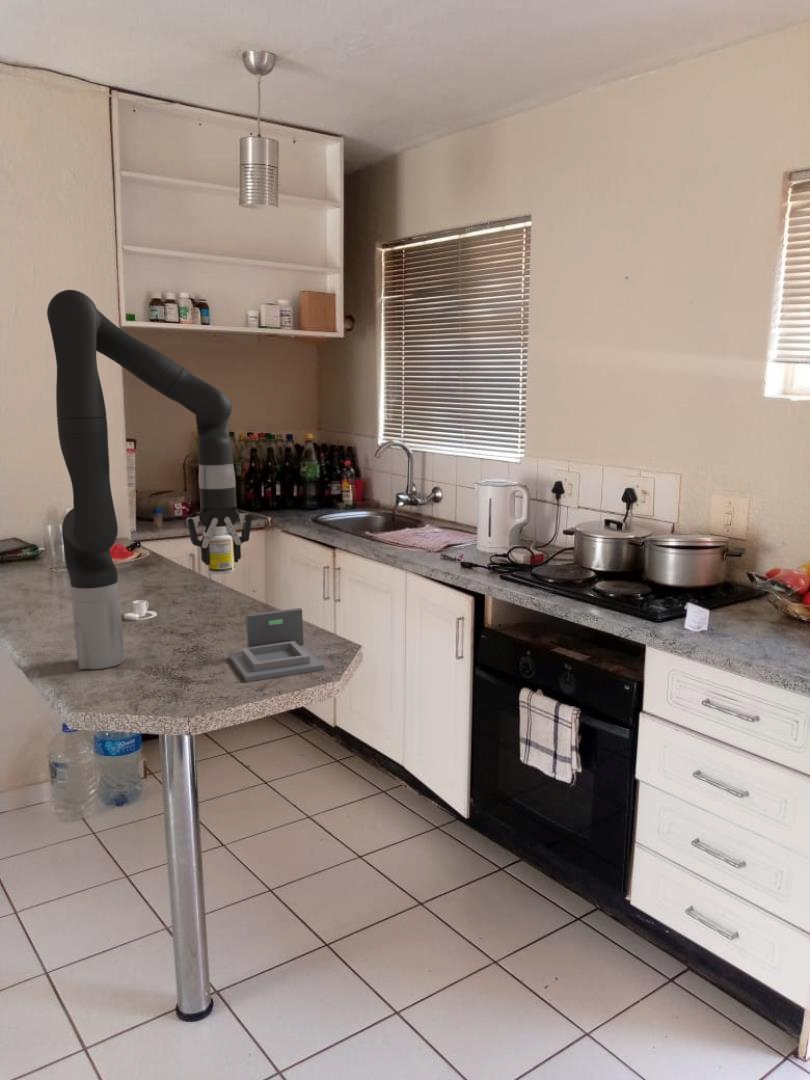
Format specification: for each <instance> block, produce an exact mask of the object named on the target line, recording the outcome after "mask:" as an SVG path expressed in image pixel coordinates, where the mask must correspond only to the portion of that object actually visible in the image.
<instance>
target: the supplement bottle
mask: <svg viewBox="0 0 810 1080" xmlns="http://www.w3.org/2000/svg"><path fill="white" fill-rule="evenodd" d="M207 547H208V548H209V565H208V571H209V573H210V574H213V575H226V574H231V573H233V572H235V569H236V568H235V567H236V566H235V564H236V562H234V544H233V537H232V535H231V534H230V533H229V530H228V528H227V526H218V527H215V529H214V532H213V535H212V537H211V538H210V539H209V544H208V546H207Z"/></svg>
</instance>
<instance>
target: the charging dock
mask: <svg viewBox="0 0 810 1080" xmlns="http://www.w3.org/2000/svg"><path fill="white" fill-rule="evenodd" d="M303 620H304V619H303V609H302V608H301V607H298V608H289V609H281V610H273V611H267V612H259V613H249V614H245V629H246V647H242V648H241V651H237V652H230V653H228V659H229V660H230V661H231V663H232V664H233V665H234V667H235V668H236V670H237V671H238V673H239V674H240V676H241V677H242V678H243V679H244V681H245V682H246V683H249V682H254V681H261V680H267V679H274V678H275V679H276V678H280V677H287V676H293V675H298V674H300V675H301V674H305V673H312V672H318V671H325V664H324V663H323V662H322V661H321V660H320V659H319V658H318V657H317V656H315V654H314V653H312V651H310V650H309V649H308V648H307V646H305V644H304V627H303V624H304V623H303Z"/></svg>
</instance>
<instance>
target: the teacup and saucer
mask: <svg viewBox="0 0 810 1080" xmlns="http://www.w3.org/2000/svg"><path fill="white" fill-rule="evenodd" d="M132 607H133V611H132V612H129V613H128V612H127V613H124V614H123V618H124V620H130V621H141V620H142V621H143V620H149V619H151V618H154V617H156V616H157V615H158V613H157V612H156V611H153V610H152V611H150V610H148V608H149V601H147V600H144V599H139V600H137V599H136V600H134V601H133V602H132ZM134 613H135V614H134ZM146 614H151V615H150V616H148V617H145V616H146ZM142 617H144V618H142Z"/></svg>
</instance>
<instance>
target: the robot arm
mask: <svg viewBox="0 0 810 1080" xmlns="http://www.w3.org/2000/svg"><path fill="white" fill-rule="evenodd" d="M46 310H47V311H46V316H47V320H48V324H49V328H50V334H51V339H52V343H53V344H52V345H53V348H54V355H55V361H56V382H55V383H56V388H55V392H56V393H55V394H56V396H55V400H56V403H55V404H56V420H57V422H56V424H57V432H58V440H59V446H60V450H61V453H62V458H63V460H64V463H65V466H66V468H67V471H68V475H69V477H70V481H71V486H72V496H73V501H72V503H73V505H72V506H73V507H72V508H71V509H70V510H69V511H68V512H67V514H66V515H65V516H64V518H63V521H62V525H61V526H62V527H61V528H62V529H61V530H62V531H61V532H62V533H61V534H62V542H63V552H64V559H65V566H66V570H67V573H68V576H69V581H70V591H71V592H70V593H71V600H72V610H73V611H72V612H73V626H74V627H73V628H74V637H75V646H76V647H75V649H76V657H77V659H76V660H77V665H78V670H101V669H107V668H108V669H109V668H113V667H116V666H119V665H120V664H122V663H124V662H125V659H126V657H125V646H124V635H123V626H122V613H121V599H120V588H119V578H118V570H117V568H116V565H115V563H114V560H113V557H112V553H111V552H112V551H111V548H112V547H113V545H114V544H115V543H116V540H117V538H118V533H119V532H118V531H119V530H118V529H119V527H118V521H117V516H116V510H115V506H114V499H113V494H112V487H111V478H110V477H111V476H110V474H111V473H110V471H111V470H110V454H109V453H110V451H109V432H108V431H109V429H108V417H107V409H106V403H105V397H104V391H103V387H102V384H101V379H100V375H99V371H98V363H97V362H98V361H97V353H100V354H102V355H103V356H105V357H107V358H109V359H110V360H111V361H113V362H115V363H116V364H117V365H119V366H121V367H122V368H124V369H125V370H126V371H128V373H131V374H132V375H133V376H134V377H136V378H137V379H138V380H140V381H142V382H143V383H145V384H146V385H147V386H149V387H150V388H151V389H153V390H155V391H157V392H158V393H159V394H161V395H163V396H165V397H166V398H168V399H170V400H171V401H174V402H176V403H178V404H180V405H181V406H182V407H184V408H185V409H187V410H189V411H190V412H191V413H193V414H194V415H195V423H196V430H197V436H198V463H199V465H198V467H199V468H198V486H199V489H198V491H199V503H200V504H199V505H200V510H199V511H200V512H199V514H198V515H197V516H194V517H193V516H191V517H190V516H188V517H186V519H185V523H186V525H187V530H188V534H189V538H190V541H191V543H192V545H194V547H199V548H200V560H201V562H203V563H204V565H205V566H209V548H208V547H207V546H208V544H209V539H210V538H211V537H212V535H213V532H214V529H215V527H218V526H227V528H228V530H229V533H230V534H231V535H232V537H233V544H234V563H239V560H241V558H242V552H241V550H242V549H241V545H242V544H243V543H246V542H249V540H250V535H251V528H252V527H251V526H252V519H253V517H252V515H251V514H250V513H248V512H246V513H244V512H243V513H241V512H239V511H238V508H237V494H236V493H237V490H236V489H237V488H236V487H237V486H236V474H235V468H234V457H233V456H234V455H233V454H234V453H233V444H232V439H231V437H230V425H229V423H230V421H229V419H230V417H231V414H232V410H233V407H232V401H231V400H230V398H229V396H228V395H227V394H226V393H224V392H223V391H221V390H220V389H218V388H217V387H215V386H213V385H212V384H210V383H209V382H206V381H204V380H202V379H201V378H200V377H197V375H194V374H193V373H191V371H189V370H188V369H187V368H185V367H184V366H182V365H181V364H179V363H178V362H176V361H175V360H174V359H172V358H171V357H169V356H167V355H165V354H164V353H162V352H160V351H159V350H157V349H155V348H153V347H151V346H150V345H148V344H146V343H144V342H142V341H141V340H139V339H137V338H136V337H134V336H132V335H130V334H129V333H127V332H126V331H124V330H123V329H122V328H120V327H119V326H117V325H116V324H115V323H114V322H112V321H111V320H110V319H109V318H107V317H106V316H105V315H104V314H103V313H102V312H101V311H100V310H99V309H98V308H97V306H96V304H95V302H94V301H93V300H92V299H91V297H89V296H88V295H86V294H85V293H84V292H81V291H78V290H77V289H76V290H75V289H65V290H61V291H59V292H58V293H56V294H55V295H54V296H53V297H52V298H51V299H50V301H49V303H48V305H47V309H46ZM238 520H240V523H241V524H242V526H241V527H242V528H241V535H240V536H239V535H238V533H237V531H236V528H235V527H234V526H235V524H236V523H237V521H238ZM199 522H200V523H202V525H203V526H204V527H205V528H204V530H203V533H202V537H201V539H199V537H198V533H197V530H196V529H197V527H198V525H199Z"/></svg>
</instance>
